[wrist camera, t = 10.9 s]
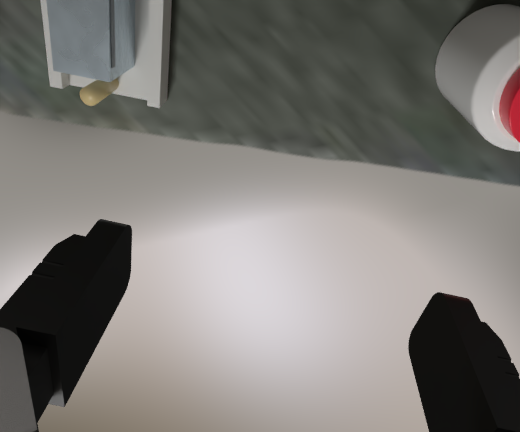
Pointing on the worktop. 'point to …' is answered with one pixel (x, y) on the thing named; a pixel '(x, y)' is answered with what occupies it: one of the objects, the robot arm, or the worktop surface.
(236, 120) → the worktop surface
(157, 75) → the white peg stand
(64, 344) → the robot arm
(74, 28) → the block
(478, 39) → the pill bottle
